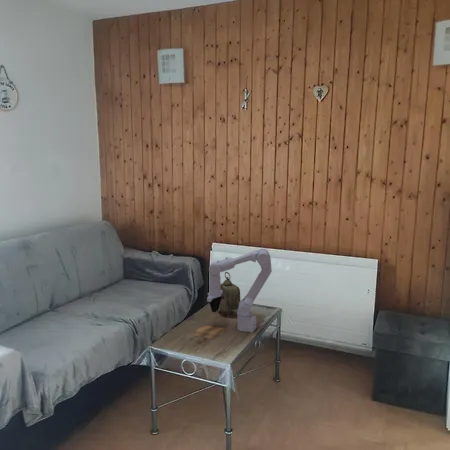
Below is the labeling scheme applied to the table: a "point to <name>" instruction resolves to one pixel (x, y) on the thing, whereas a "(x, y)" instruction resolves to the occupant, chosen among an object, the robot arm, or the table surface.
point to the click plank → (211, 330)
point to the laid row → (205, 335)
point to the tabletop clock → (229, 296)
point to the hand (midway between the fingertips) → (215, 311)
